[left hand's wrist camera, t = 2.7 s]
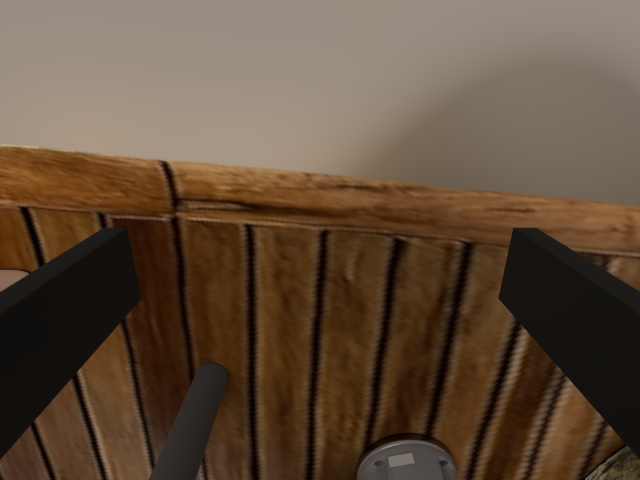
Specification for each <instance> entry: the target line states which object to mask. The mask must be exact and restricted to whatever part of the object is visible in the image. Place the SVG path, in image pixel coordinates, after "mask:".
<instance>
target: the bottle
mask: <svg viewBox="0 0 640 480" xmlns="http://www.w3.org/2000/svg"><path fill="white" fill-rule="evenodd" d="M227 381H228V372H227V371H226V369H225V368H224V367H223V366H221V365H219V364H216V363H206V364H203V365H202V366H200V367H199V368H198V370H197V372H196V375H195V377H194V379H193V381H192V384H191V386H190V388H189V390H188V393H187V395H186V397H185V399H184V402H183V404H182V406H181V408H180V411H179V413H178V415H177V417H176V420H175V422H174V424H173V426H172V429H171V431H170V433H169V435H168V438H167V440H166V442H165V444H164V447H163V449H162V451H161V453H160V456H159V458H158V460H157V462H156V465H155V467H154V469H153V471H152V474H151V476H150V478H149V480H196V477H197V474H198V471H199V468H200V464H201V461H202V458H203V455H204V452H205V449H206V446H207V443H208V440H209V437H210V434H211V430H212V427H213V424H214V421H215V418H216V415H217V412H218V409H219V406H220V403H221V400H222V396H223V393H224V390H225V387H226V384H227Z"/></svg>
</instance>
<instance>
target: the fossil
mask: <svg viewBox="0 0 640 480" xmlns="http://www.w3.org/2000/svg"><path fill="white" fill-rule="evenodd" d="M585 480H640V459H639V458H638V457H637V456H636V455H635V454H634V452H633V451H632V450H631V449H630V448H629V447H628V446H626V447H625V448H623V449H622V450H620V451H619V452H617V453H616V454H615V455H613V456H612V457H610V458H609V459H607V461H606V462H605V463H603V464H602V465H600V466H599V467H597V468H596V469H595V470H594V471H593V472H592V473H591V474H590V475H589V476H588V477H587V478H586V479H585Z"/></svg>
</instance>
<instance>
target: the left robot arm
mask: <svg viewBox="0 0 640 480" xmlns="http://www.w3.org/2000/svg"><path fill="white" fill-rule="evenodd" d="M140 300H141V293H140V289H139V284H138V279H137V275H136V270H135V265H134V261H133V256H132V251H131V247H130V242H129V237H128V233H127V228H103V229H101V230H100V231H98V232H96V233H95V234H93V235H92V236H90V237H88V238H87V239H85V240H83V241H82V242H80V243H79V244H77V245H75V246H74V247H72V248H70V249H69V250H67V251H66V252H64V253H62V254H61V255H59V256H57V257H56V258H54V259H53V260H51V261H49V262H48V263H46V264H44V265H43V266H41V267H40V268H38V269H36V270H35V271H33V272H32V273H30V274H28V275H27V276H25V277H23V278H22V279H20V280H19V281H17V282H15V283H14V284H12V285H10V286H9V287H7V288H6V289H4V290H2V291H1V292H0V459H1V458H2V457H3V456H4V455H5V454H6V452H7V451H8V450H9V449H10V448H11V447H12V446H13V444H14V443H15V442H16V441H17V440H18V439H19V438H20V436H21V435H22V434H23V433H24V432H25V431H26V430H27V429H28V427H29V426H30V425H31V424H32V423H33V422H34V421H35V419H36V418H37V417H38V416H39V415H40V414H41V413H42V411H43V410H44V409H45V408H46V407H47V406H48V405H49V403H50V402H51V401H52V400H53V399H54V398H55V397H56V395H57V394H58V393H59V392H60V391H61V390H62V389H63V387H64V386H65V385H66V384H67V383H68V382H69V381H70V379H71V378H72V377H73V376H74V375H75V374H76V373H77V371H78V370H79V369H80V368H81V367H82V366H83V365H84V363H85V362H86V361H87V360H88V359H89V358H90V357H91V355H92V354H93V353H94V352H95V351H96V350H97V349H98V347H99V346H100V345H101V344H102V343H103V342H104V341H105V340H106V338H107V337H108V336H109V335H110V334H111V333H112V332H113V330H114V329H115V328H116V327H117V326H118V325H119V324H120V322H121V321H122V320H123V319H124V318H125V317H126V316H127V314H128V313H129V312H130V311H131V310H132V309H133V308H134V306H135V305H136V304H137V303H138V302H139V301H140ZM499 300H500V301H501V302H502V303H503V304H504V305H505V306H506V308H507V309H508V310H509V311H510V312H511V313H512V314H513V316H514V317H515V318H516V319H517V320H518V321H519V322H520V324H521V325H522V326H523V327H524V328H525V329H526V330H527V332H528V333H529V334H530V335H531V336H532V337H533V338H534V340H535V341H536V342H537V343H538V344H539V345H540V346H541V347H542V349H543V350H544V351H545V352H546V353H547V354H548V355H549V357H550V358H551V359H552V360H553V361H554V362H555V363H556V365H557V366H558V367H559V368H560V369H561V370H562V371H563V373H564V374H565V375H566V376H567V377H568V378H569V379H570V381H571V382H572V383H573V384H574V385H575V386H576V387H577V389H578V390H579V391H580V392H581V393H582V394H583V395H584V397H585V398H586V399H587V400H588V401H589V402H590V403H591V405H592V406H593V407H594V408H595V409H596V410H597V411H598V413H599V414H600V415H601V416H602V417H603V418H604V419H605V421H606V422H607V423H608V424H609V425H610V426H611V427H612V429H613V430H614V431H615V432H616V433H617V434H618V435H619V436H620V438H621V439H622V440H623V441H624V442H625V443H626V444H627V446H628V447H629V448H630V449H631V450H632V451H633V452H634V454H635V455H636V456H637V457H638V458H639V459H640V292H639V291H638V290H636V289H634V288H633V287H631V286H630V285H628V284H626V283H625V282H623V281H621V280H620V279H618V278H617V277H615V276H613V275H612V274H610V273H608V272H607V271H605V270H604V269H602V268H600V267H599V266H597V265H596V264H594V263H592V262H591V261H589V260H587V259H586V258H584V257H583V256H581V255H579V254H578V253H576V252H574V251H573V250H571V249H570V248H568V247H566V246H565V245H563V244H561V243H560V242H558V241H557V240H555V239H553V238H552V237H550V236H548V235H547V234H545V233H544V232H542V231H540V230H539V229H537V228H513V233H512V237H511V242H510V247H509V251H508V256H507V261H506V265H505V270H504V275H503V279H502V284H501V289H500V293H499ZM356 474H357V480H458V476H457V469H456V466H455V463H454V460H453V458H452V455H451V453H450V452H449V450H448V449H447V448H446V447H445V446H444V445H443V444H442V443H440V442H439V441H437V440H435V439H433V438H430V437H427V436H423V435H416V434H402V435H395V436H391V437H388V438H385V439H382V440H380V441H378V442H376V443H374V444H373V445H371V446H370V447H369V448H368V449H366V450H365V452H364V453H363V454H362V455H361V457H360V458H359V460H358V463H357V468H356Z"/></svg>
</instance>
